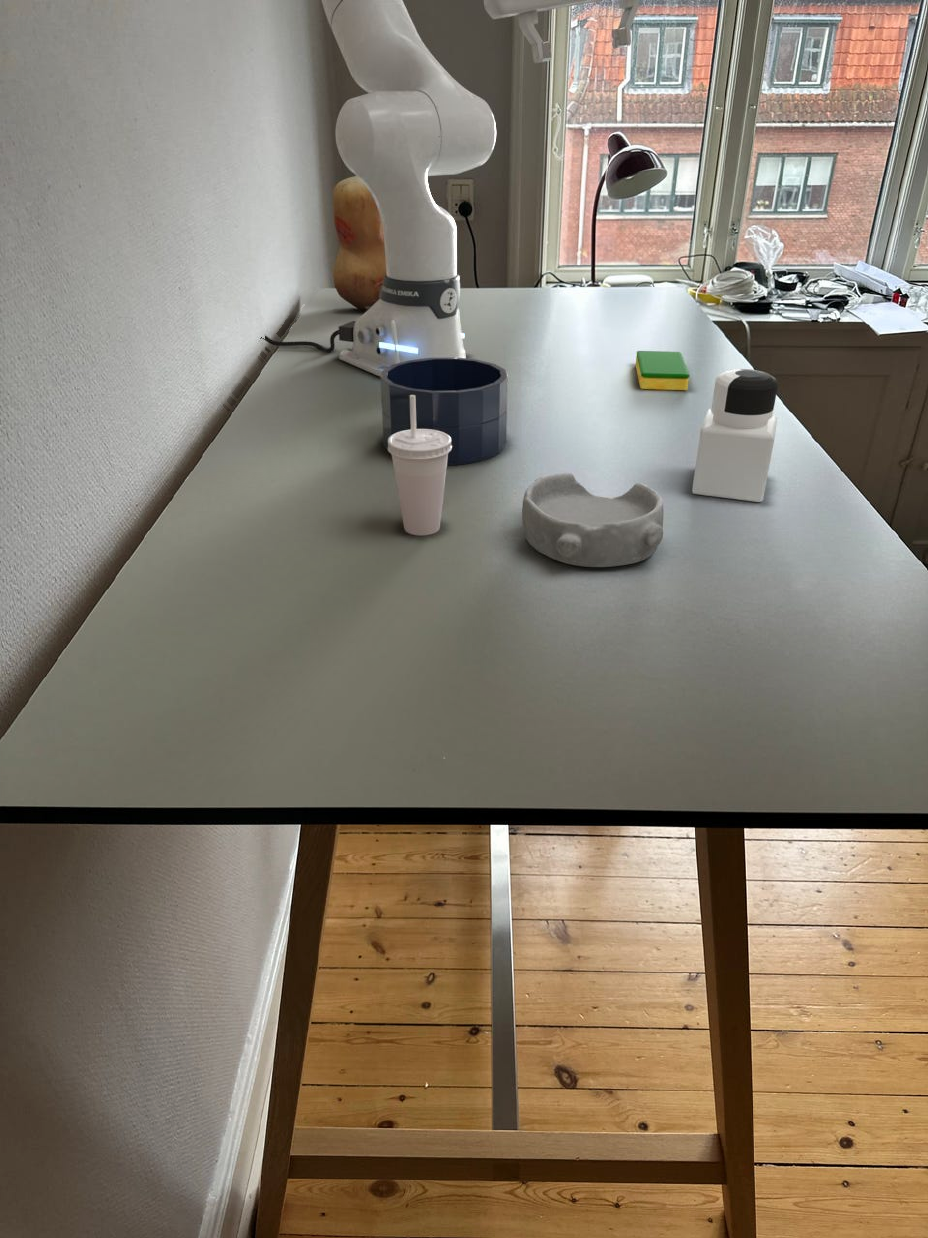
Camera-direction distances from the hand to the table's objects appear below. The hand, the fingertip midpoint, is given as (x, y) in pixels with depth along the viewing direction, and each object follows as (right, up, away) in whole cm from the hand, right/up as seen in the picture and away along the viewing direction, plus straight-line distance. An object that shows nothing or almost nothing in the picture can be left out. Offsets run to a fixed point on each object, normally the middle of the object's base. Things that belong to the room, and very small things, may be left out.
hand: (582, 54), depth 97 cm
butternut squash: (-33, +2, +86) cm, 92 cm away
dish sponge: (+18, -24, +43) cm, 52 cm away
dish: (0, -55, -8) cm, 55 cm away
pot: (-16, -39, +17) cm, 46 cm away
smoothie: (-17, -53, -5) cm, 56 cm away
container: (+18, -47, +5) cm, 50 cm away
